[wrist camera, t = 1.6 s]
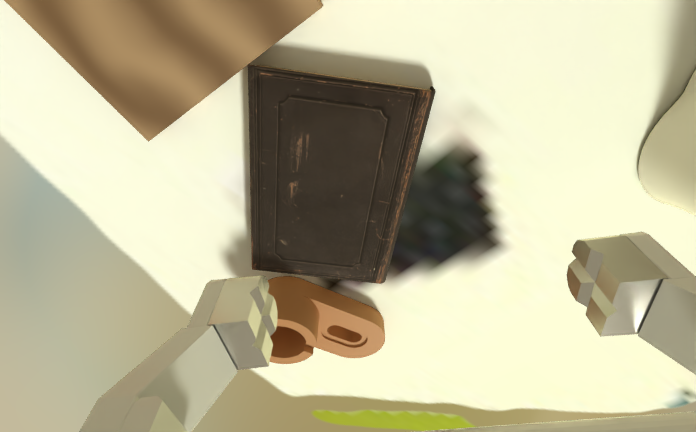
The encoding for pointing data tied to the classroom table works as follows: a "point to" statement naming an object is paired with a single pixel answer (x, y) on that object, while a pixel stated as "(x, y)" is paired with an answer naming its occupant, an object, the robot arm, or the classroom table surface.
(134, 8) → the board
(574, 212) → the classroom table surface
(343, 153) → the hardcover book
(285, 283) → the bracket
